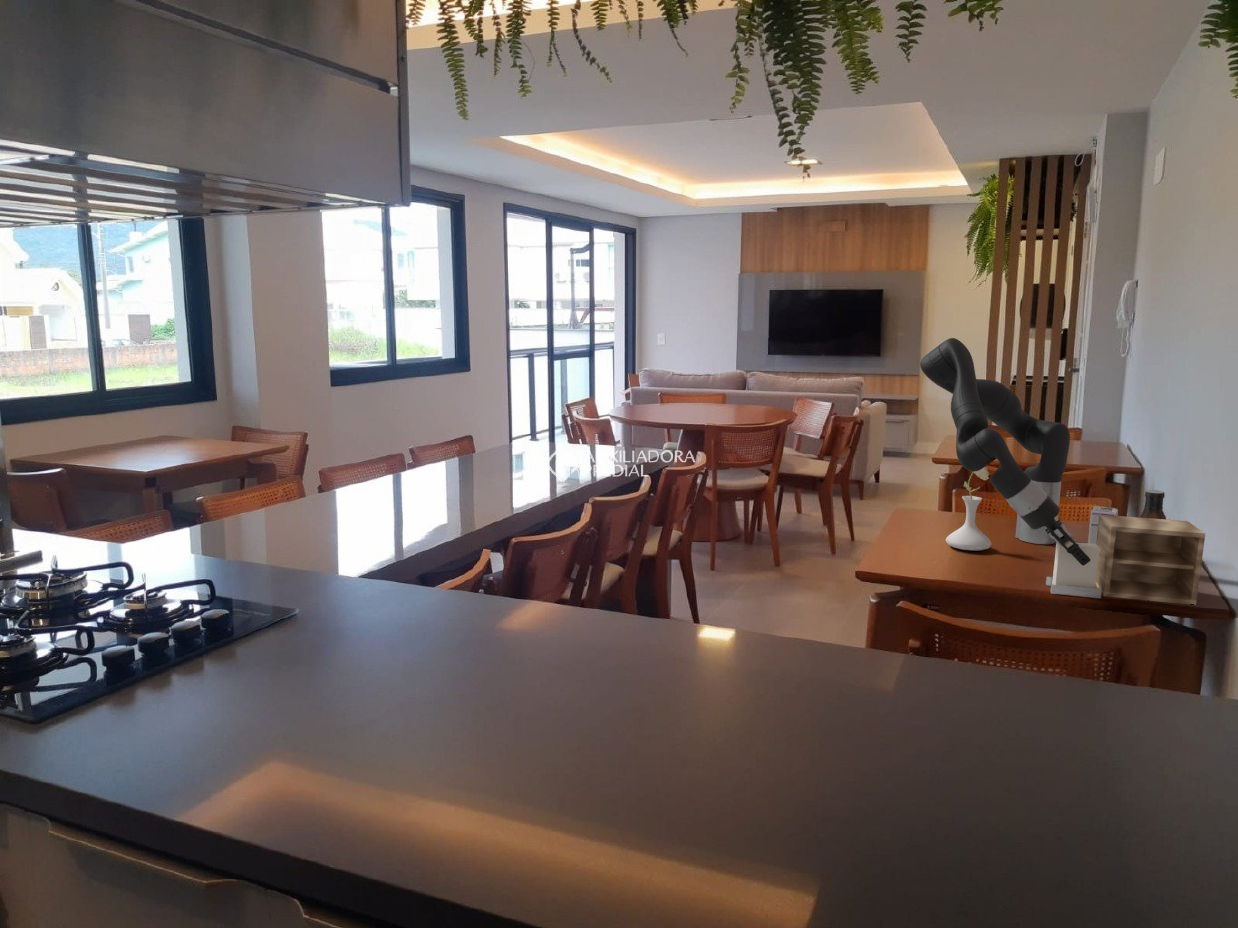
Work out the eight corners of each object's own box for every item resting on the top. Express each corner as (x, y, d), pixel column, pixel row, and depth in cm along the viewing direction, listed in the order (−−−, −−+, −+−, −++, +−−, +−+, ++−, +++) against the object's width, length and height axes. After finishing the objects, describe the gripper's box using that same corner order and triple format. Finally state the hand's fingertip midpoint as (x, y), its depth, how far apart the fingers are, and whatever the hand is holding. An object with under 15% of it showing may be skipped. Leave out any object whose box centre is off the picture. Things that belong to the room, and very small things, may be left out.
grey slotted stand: (1051, 593, 197) (1051, 585, 197) (1045, 584, 204) (1046, 576, 204) (1100, 598, 194) (1101, 589, 194) (1093, 589, 201) (1094, 580, 201)
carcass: (1103, 596, 196) (1111, 526, 193) (1091, 580, 207) (1099, 514, 205) (1195, 605, 191) (1205, 533, 188) (1178, 588, 202) (1187, 521, 199)
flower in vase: (995, 555, 228) (1003, 460, 224) (948, 552, 230) (956, 458, 226) (984, 542, 241) (993, 452, 236) (941, 540, 243) (948, 450, 239)
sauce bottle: (1155, 567, 220) (1164, 489, 216) (1167, 574, 214) (1178, 494, 210) (1127, 565, 220) (1136, 488, 217) (1139, 573, 214) (1149, 493, 211)
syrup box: (1111, 569, 217) (1118, 512, 214) (1084, 565, 220) (1090, 509, 217) (1113, 564, 222) (1119, 508, 219) (1086, 560, 225) (1092, 505, 222)
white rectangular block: (1054, 591, 199) (1059, 544, 197) (1051, 587, 202) (1056, 540, 200) (1093, 595, 196) (1099, 547, 194) (1090, 591, 200) (1095, 544, 198)
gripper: (1014, 508, 207) (1062, 559, 205) (1022, 521, 193) (1074, 577, 192) (1041, 487, 204) (1090, 539, 203) (1051, 499, 191) (1104, 555, 189)
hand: (1082, 557), depth 197 cm, fingers open, 8 cm apart
